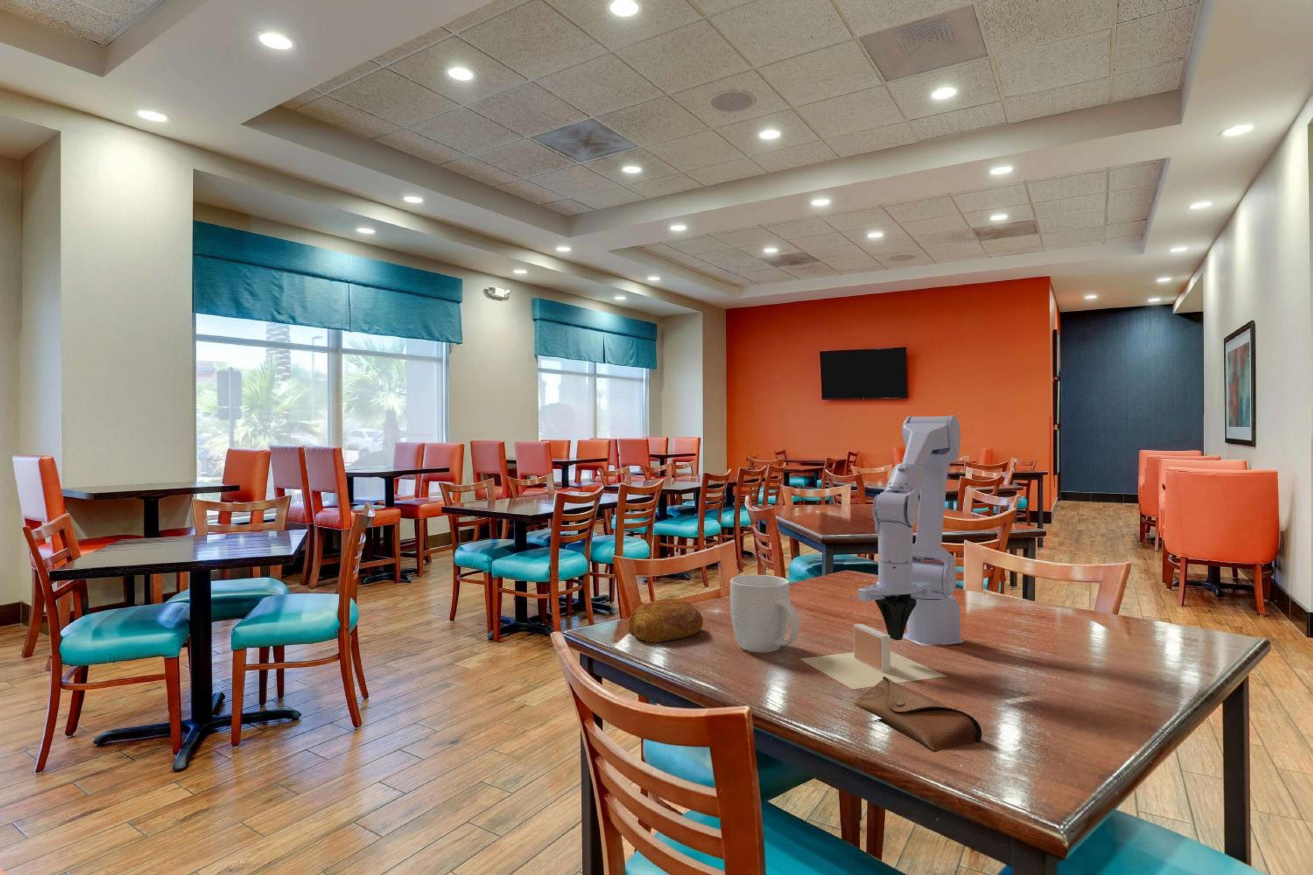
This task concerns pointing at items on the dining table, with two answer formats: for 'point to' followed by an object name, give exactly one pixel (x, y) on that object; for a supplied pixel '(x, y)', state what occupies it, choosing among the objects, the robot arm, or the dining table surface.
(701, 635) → the dining table surface
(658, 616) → the brown rounded lump
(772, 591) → the mug
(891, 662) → the mat
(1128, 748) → the dining table surface
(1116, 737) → the dining table surface
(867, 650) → the tile
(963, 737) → the sunglasses case
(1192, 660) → the dining table surface
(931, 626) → the robot arm
